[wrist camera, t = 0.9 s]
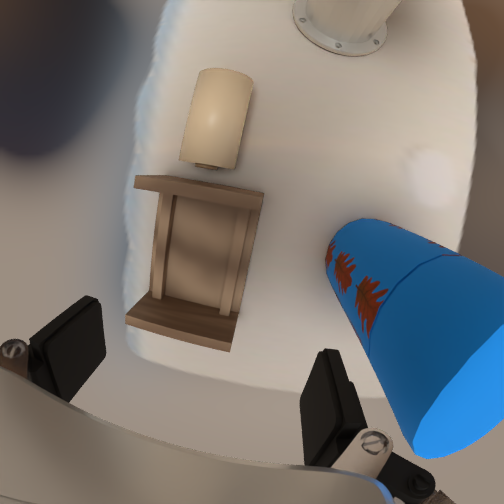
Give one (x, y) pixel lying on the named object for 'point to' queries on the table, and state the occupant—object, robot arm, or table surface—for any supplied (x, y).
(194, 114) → the kraft roll
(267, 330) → the table surface
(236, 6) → the table surface
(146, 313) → the cradle
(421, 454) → the thermos
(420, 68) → the table surface
